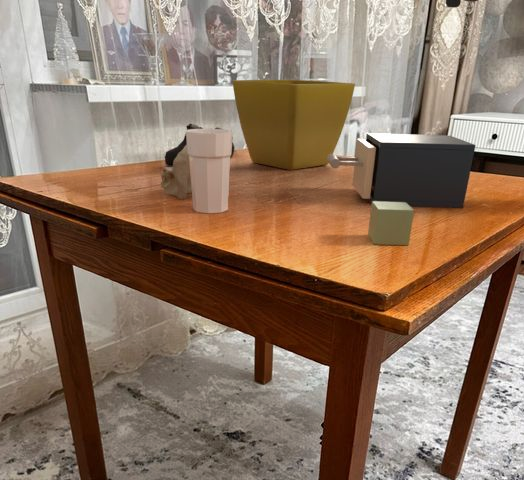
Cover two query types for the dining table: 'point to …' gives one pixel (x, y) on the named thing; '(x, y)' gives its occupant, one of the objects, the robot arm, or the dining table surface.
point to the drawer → (360, 166)
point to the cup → (209, 168)
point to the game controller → (174, 152)
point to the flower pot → (292, 120)
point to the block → (390, 223)
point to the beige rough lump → (178, 176)
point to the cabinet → (421, 169)
